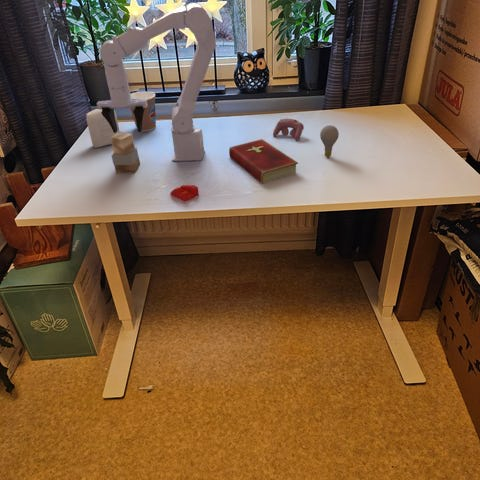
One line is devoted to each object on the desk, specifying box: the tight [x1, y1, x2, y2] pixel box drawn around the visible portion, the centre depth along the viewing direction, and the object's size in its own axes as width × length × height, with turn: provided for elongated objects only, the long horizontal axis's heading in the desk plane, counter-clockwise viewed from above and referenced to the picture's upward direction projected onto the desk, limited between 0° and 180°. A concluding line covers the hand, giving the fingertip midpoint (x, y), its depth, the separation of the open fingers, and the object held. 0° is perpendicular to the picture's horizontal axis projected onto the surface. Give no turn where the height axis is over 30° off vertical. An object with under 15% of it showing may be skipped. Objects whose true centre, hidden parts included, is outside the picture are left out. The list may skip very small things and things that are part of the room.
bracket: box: [169, 184, 200, 203], centre depth 121 cm, size 6×5×3 cm
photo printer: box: [85, 108, 121, 149], centre depth 151 cm, size 10×4×12 cm, turn 123°
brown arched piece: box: [272, 118, 305, 142], centre depth 151 cm, size 10×5×7 cm, turn 58°
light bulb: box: [319, 124, 340, 158], centre depth 134 cm, size 5×6×10 cm
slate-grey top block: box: [111, 146, 139, 166], centre depth 135 cm, size 6×6×3 cm
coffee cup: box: [130, 91, 157, 132], centre depth 162 cm, size 10×10×12 cm
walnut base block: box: [113, 155, 141, 174], centre depth 137 cm, size 6×6×3 cm
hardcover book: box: [228, 138, 299, 185], centre depth 134 cm, size 12×21×4 cm, turn 27°
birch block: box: [110, 131, 136, 155], centre depth 133 cm, size 4×4×5 cm
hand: (127, 131), depth 135 cm, fingers open, 7 cm apart
